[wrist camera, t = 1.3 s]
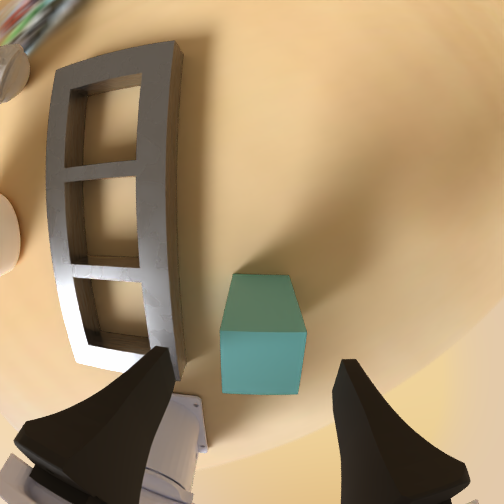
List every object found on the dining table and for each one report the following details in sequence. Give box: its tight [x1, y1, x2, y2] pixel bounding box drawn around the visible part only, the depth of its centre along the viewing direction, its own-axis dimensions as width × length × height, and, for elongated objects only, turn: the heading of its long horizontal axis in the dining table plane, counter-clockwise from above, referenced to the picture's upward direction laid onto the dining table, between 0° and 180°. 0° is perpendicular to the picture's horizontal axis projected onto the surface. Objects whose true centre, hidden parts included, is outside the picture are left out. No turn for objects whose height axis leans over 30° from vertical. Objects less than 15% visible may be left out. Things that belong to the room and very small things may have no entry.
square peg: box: [220, 274, 307, 395], centre depth 17 cm, size 4×4×8 cm
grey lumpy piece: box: [0, 44, 30, 104], centre depth 13 cm, size 6×7×7 cm
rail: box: [46, 40, 187, 381], centre depth 18 cm, size 24×10×2 cm, turn 179°
